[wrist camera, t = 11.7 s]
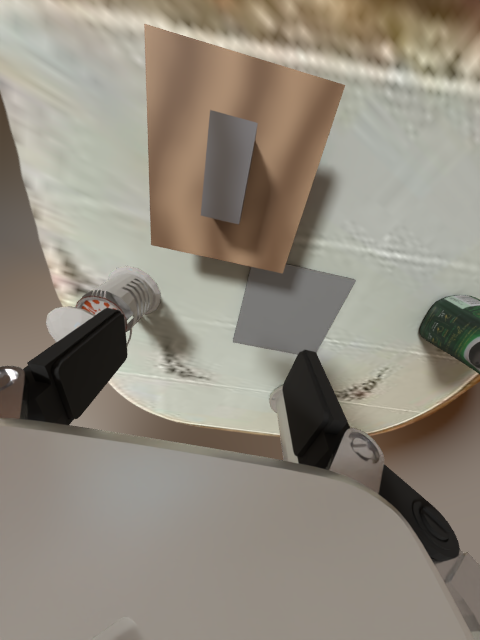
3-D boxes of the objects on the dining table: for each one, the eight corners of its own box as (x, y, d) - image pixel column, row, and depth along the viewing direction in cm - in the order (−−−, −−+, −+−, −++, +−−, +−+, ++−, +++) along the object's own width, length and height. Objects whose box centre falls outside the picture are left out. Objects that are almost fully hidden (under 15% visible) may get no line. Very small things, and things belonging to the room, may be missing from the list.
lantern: (155, 266, 34) (-2, 379, 13) (166, 323, 40) (74, 463, 19) (99, 264, 34) (-150, 372, 13) (119, 321, 40) (-27, 458, 19)
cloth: (340, 90, 18) (378, 46, 13) (281, 271, 26) (289, 288, 21) (149, 33, 16) (105, -44, 11) (154, 243, 25) (130, 254, 20)
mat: (354, 279, 34) (355, 280, 33) (312, 355, 43) (313, 357, 43) (253, 256, 32) (253, 257, 32) (232, 340, 42) (232, 342, 41)
